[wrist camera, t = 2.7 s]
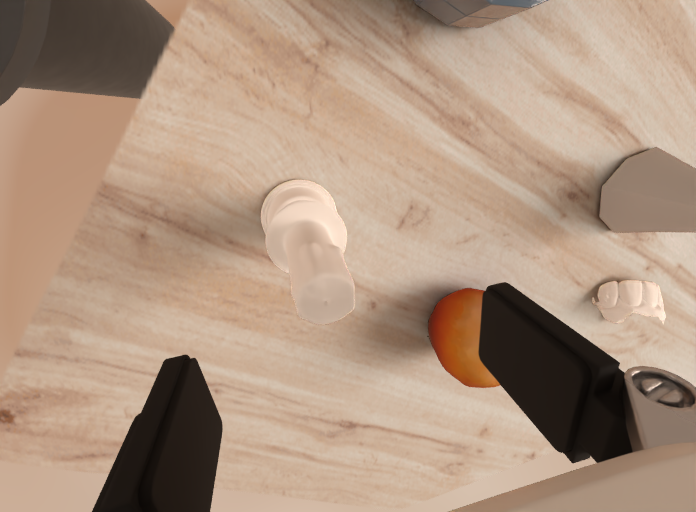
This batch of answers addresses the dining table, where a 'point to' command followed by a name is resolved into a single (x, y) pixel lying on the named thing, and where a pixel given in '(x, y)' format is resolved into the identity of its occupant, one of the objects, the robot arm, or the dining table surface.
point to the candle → (309, 249)
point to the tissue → (629, 300)
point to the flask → (650, 195)
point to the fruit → (460, 337)
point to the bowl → (474, 10)
